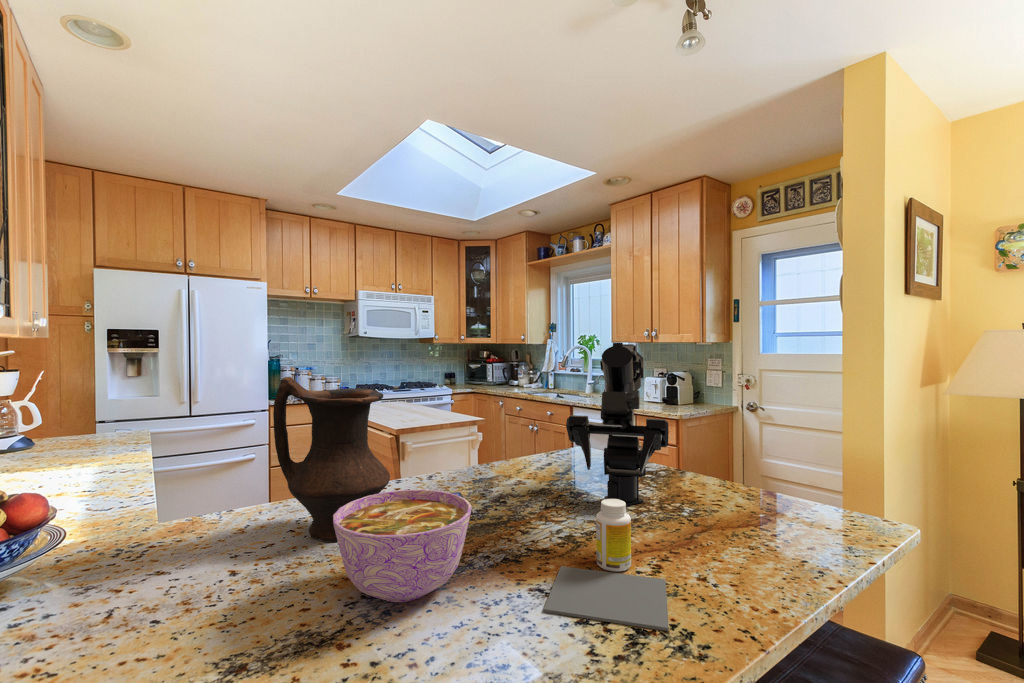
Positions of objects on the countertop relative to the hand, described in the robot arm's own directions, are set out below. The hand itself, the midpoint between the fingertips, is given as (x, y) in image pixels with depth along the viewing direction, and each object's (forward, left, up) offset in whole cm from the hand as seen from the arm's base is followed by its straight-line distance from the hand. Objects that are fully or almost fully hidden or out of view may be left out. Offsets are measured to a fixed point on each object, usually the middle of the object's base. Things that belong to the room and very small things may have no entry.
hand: (614, 470), depth 87 cm
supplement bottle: (+5, +6, -14) cm, 16 cm away
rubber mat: (+12, +13, -13) cm, 22 cm away
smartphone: (+18, -34, -14) cm, 41 cm away
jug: (+43, -31, -13) cm, 55 cm away
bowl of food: (+37, -3, -13) cm, 40 cm away
